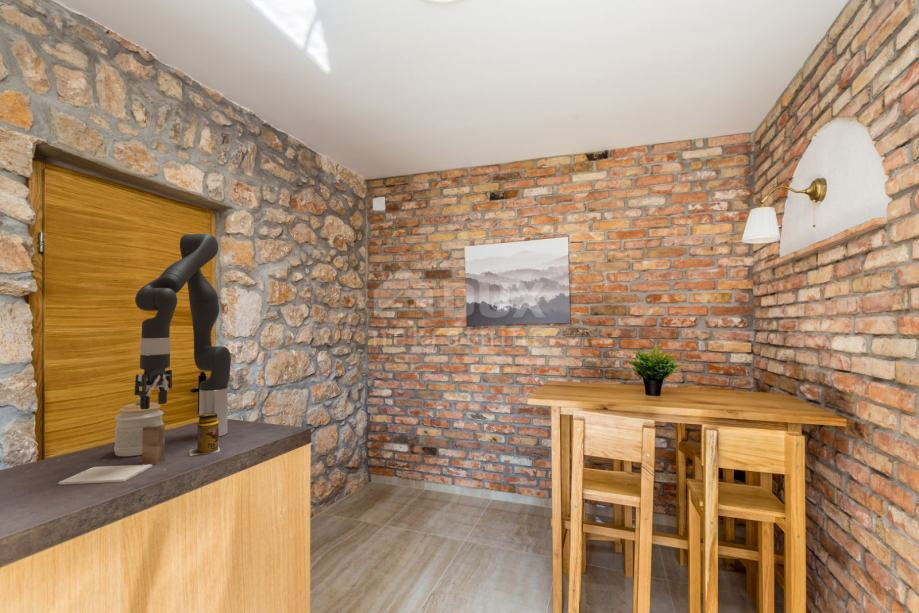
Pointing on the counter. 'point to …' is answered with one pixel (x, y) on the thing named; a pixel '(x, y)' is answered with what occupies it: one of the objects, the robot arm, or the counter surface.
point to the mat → (106, 474)
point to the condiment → (207, 434)
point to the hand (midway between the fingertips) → (153, 406)
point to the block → (153, 444)
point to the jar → (134, 427)
